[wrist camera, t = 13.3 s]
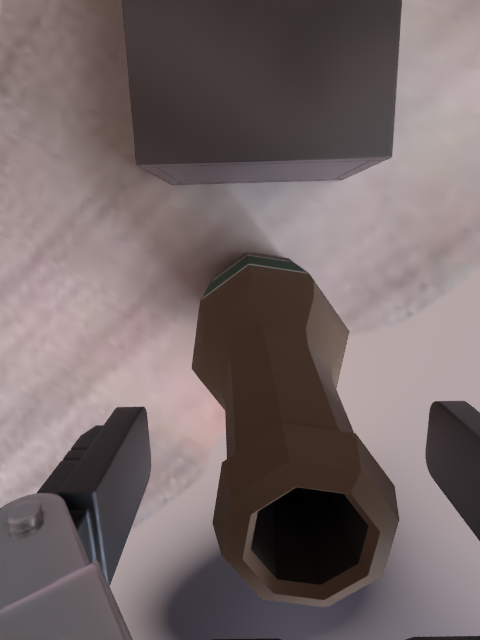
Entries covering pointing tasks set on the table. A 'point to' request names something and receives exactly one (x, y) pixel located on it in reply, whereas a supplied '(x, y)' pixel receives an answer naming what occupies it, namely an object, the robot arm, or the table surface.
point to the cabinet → (261, 88)
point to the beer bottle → (289, 439)
